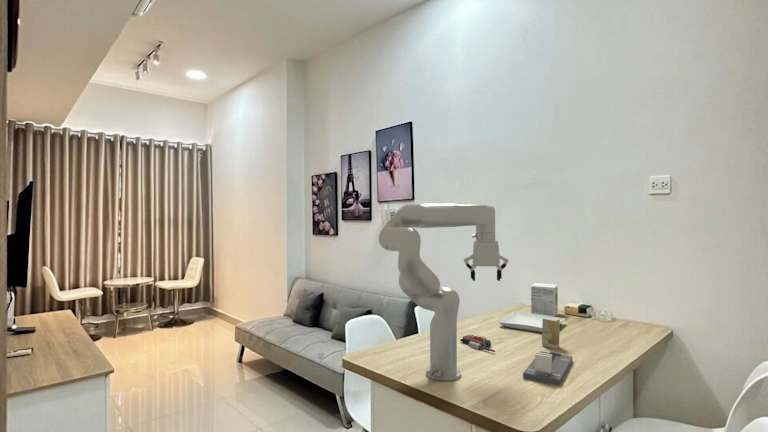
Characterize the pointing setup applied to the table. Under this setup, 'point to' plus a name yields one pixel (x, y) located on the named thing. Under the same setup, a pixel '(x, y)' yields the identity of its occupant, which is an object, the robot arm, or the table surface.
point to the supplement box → (544, 299)
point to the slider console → (558, 370)
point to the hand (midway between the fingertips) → (486, 280)
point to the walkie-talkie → (477, 342)
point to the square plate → (526, 321)
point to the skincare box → (550, 332)
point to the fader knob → (543, 362)
